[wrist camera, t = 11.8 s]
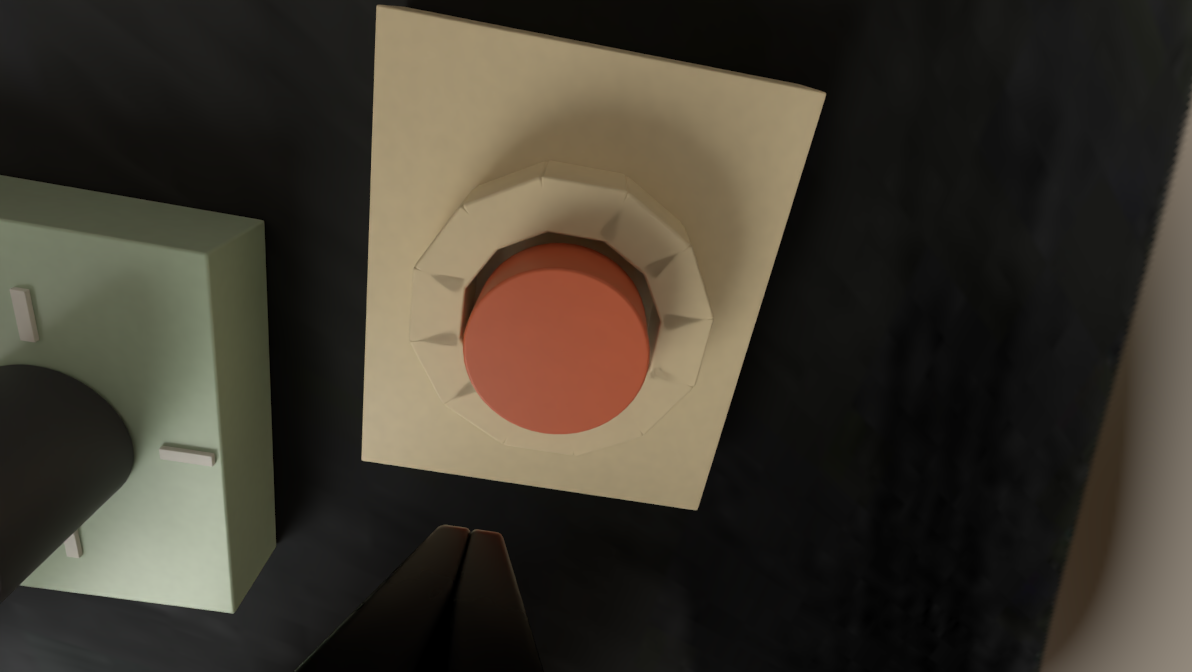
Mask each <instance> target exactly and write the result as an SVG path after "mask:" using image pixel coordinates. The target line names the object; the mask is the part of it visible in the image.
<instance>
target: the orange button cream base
mask: <svg viewBox="0 0 1192 672" xmlns="http://www.w3.org/2000/svg"><path fill="white" fill-rule="evenodd" d="M825 97H826V93H825V92H823V91H820V90H816V89H813V88H810V87H807V86H803V85H800V84H795V83H790V82H785V81H780V80H775V79H770V78H765V77H760V76H754V75H749V74H744V73H739V72H734V71H729V70H724V69H719V68H714V67H709V66H704V65H698V64H693V63H688V62H683V61H678V60H673V59H668V58H663V57H658V56H653V55H648V54H642V53H637V52H632V51H627V50H622V49H617V48H612V47H607V46H602V45H597V44H591V43H586V42H581V41H576V40H571V39H566V38H561V37H556V36H551V35H546V34H541V33H535V32H530V31H525V30H520V29H515V28H510V27H505V26H500V25H495V24H490V23H485V22H479V21H474V20H469V19H464V18H459V17H454V16H449V15H444V14H439V13H434V12H429V11H423V10H418V9H413V8H408V7H400V6H389V5H377V7H376V35H375V66H374V96H373V126H372V156H371V186H370V217H369V247H368V277H367V307H366V337H365V368H364V398H363V428H362V458H361V459H362V460H363V461H368V462H375V463H382V464H388V465H395V466H402V467H409V468H415V469H422V470H429V471H435V472H442V473H449V474H456V475H462V476H469V477H476V478H482V479H489V480H496V481H502V482H509V483H516V484H523V485H529V486H536V487H543V488H549V489H556V490H563V491H569V492H576V493H583V494H590V495H596V496H603V497H610V498H616V499H623V500H630V501H637V502H643V503H650V504H657V505H663V506H670V507H677V508H683V509H690V510H697V509H698V507H699V503H700V500H701V497H702V494H703V490H704V487H705V484H706V481H707V478H708V474H709V471H710V468H711V465H712V461H713V458H714V455H715V452H716V448H717V445H718V442H719V439H720V436H721V432H722V429H723V426H724V423H725V419H726V416H727V413H728V410H729V407H730V403H731V400H732V397H733V394H734V390H735V387H736V384H737V381H738V378H739V374H740V371H741V368H742V365H743V361H744V358H745V355H746V352H747V349H748V345H749V342H750V339H751V336H752V332H753V329H754V326H755V323H756V320H757V316H758V313H759V310H760V307H761V303H762V300H763V297H764V294H765V291H766V287H767V284H768V281H769V278H770V274H771V271H772V268H773V265H774V262H775V258H776V255H777V252H778V249H779V245H780V242H781V239H782V236H783V233H784V229H785V226H786V223H787V220H788V216H789V213H790V210H791V207H792V204H793V200H794V197H795V194H796V191H797V187H798V184H799V181H800V178H801V174H802V171H803V168H804V165H805V162H806V158H807V155H808V152H809V149H810V145H811V142H812V139H813V136H814V133H815V129H816V126H817V123H818V120H819V116H820V113H821V110H822V107H823V104H824V100H825ZM548 243H568V244H576V245H580V246H584V247H587V248H590V249H593V250H595V251H598V252H599V253H601V254H603V255H605V256H607V257H608V258H610V259H611V260H613V261H614V262H615V263H617V264H618V265H619V266H620V267H621V268H622V269H623V270H624V271H625V272H626V273H627V274H628V276H629V277H630V278H631V279H632V281H633V282H634V284H635V286H636V287H637V289H638V291H639V294H640V296H641V298H642V302H643V306H644V310H645V317H646V323H647V330H648V337H649V345H650V362H649V368H648V372H647V375H646V378H645V381H644V383H643V385H642V387H641V389H640V391H639V393H638V394H637V396H636V397H635V399H634V400H633V401H632V402H631V403H630V404H629V406H628V407H627V408H626V409H625V410H623V411H622V412H621V413H620V414H619V415H618V416H616V417H615V418H613V419H612V420H610V421H609V422H607V423H605V424H603V425H601V426H599V427H596V428H593V429H590V430H587V431H583V432H579V433H572V434H545V433H539V432H535V431H531V430H528V429H525V428H521V427H519V426H517V425H515V424H513V423H511V422H509V421H507V420H506V419H504V418H502V417H501V416H499V415H498V414H497V413H496V412H494V411H493V410H492V409H491V408H490V407H489V406H488V405H487V404H486V403H485V402H484V401H483V400H482V399H481V397H480V396H479V395H478V393H477V392H476V390H475V388H474V387H473V385H472V383H471V381H470V379H469V376H468V374H467V371H466V367H465V364H464V357H463V338H464V333H465V328H466V325H467V322H468V319H469V317H470V315H471V312H472V310H473V308H474V306H475V304H476V301H477V299H478V297H479V295H480V293H481V290H482V288H483V286H484V285H485V283H486V281H487V279H488V278H489V277H490V275H491V274H492V272H493V271H494V270H495V269H496V268H497V267H498V266H499V265H500V264H501V263H503V262H504V261H505V260H506V259H508V258H509V257H511V256H513V255H514V254H516V253H518V252H520V251H522V250H525V249H527V248H530V247H533V246H537V245H541V244H548Z"/></svg>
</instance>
